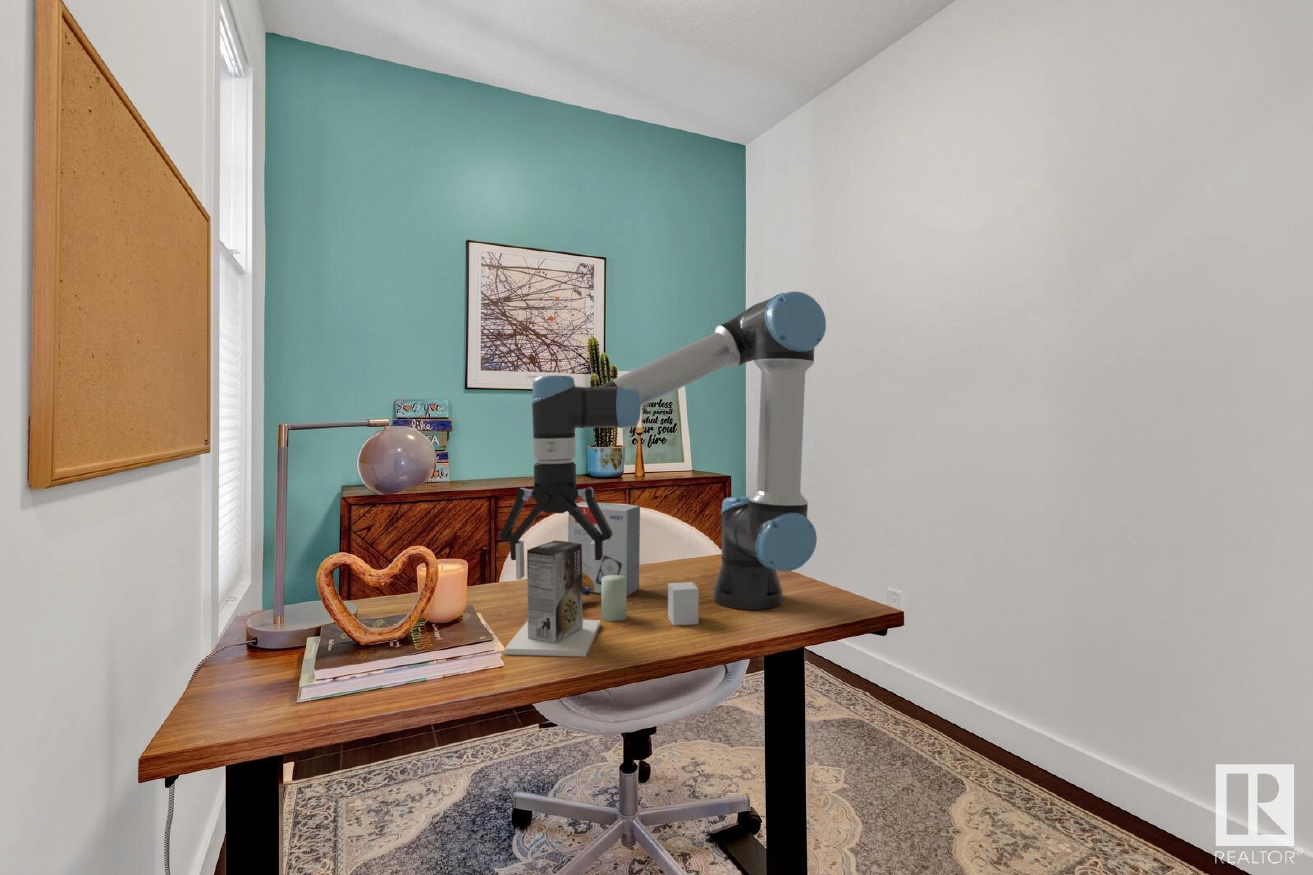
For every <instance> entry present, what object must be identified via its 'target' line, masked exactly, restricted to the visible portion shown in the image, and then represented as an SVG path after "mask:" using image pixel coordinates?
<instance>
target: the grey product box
mask: <svg viewBox="0 0 1313 875" xmlns="http://www.w3.org/2000/svg"><path fill="white" fill-rule="evenodd" d="M526 553H527V554H526V555H527V556H526V557H527V559H526V562H527V567H526V568H527V570H526V572H527V574H526V576H527V621H528V638H529V639H534V640H539V641H545V642H550V643H558V642H560V641H561V640H563V639H565V638H566V637H568V636H569V635H571V634H573V633H574V632H576V631H578V630H579V629H581V628H583V620H584V619H583V618H584V617H583V605H582V604H583V594H582V544H579V543H572V542H568V541H566V540H564V541H563V540H552V541H549V542H546V543H544V544H539V545H537V546H535V547H532V548H528V549H527V550H526Z"/></svg>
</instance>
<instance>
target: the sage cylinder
mask: <svg viewBox="0 0 1313 875" xmlns="http://www.w3.org/2000/svg"><path fill="white" fill-rule="evenodd" d="M600 594H601V598H600V599H601V602H600V603H601V606H600V607H601V611H600V612H601V620H603V621H606V622H620V621H624V620H625V619H627V597H626V577H625V576H621V575H608V576H604V577H602V578H601V593H600Z"/></svg>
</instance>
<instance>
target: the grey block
mask: <svg viewBox="0 0 1313 875" xmlns="http://www.w3.org/2000/svg"><path fill="white" fill-rule="evenodd" d="M667 618H668V620H669V622H670V623H671V624H672V626H688V625H699V587H698V586H697V585H695V583H694V582H692V581H688V582H687V581H686V582H685V581H684V582H669V583H667Z"/></svg>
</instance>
